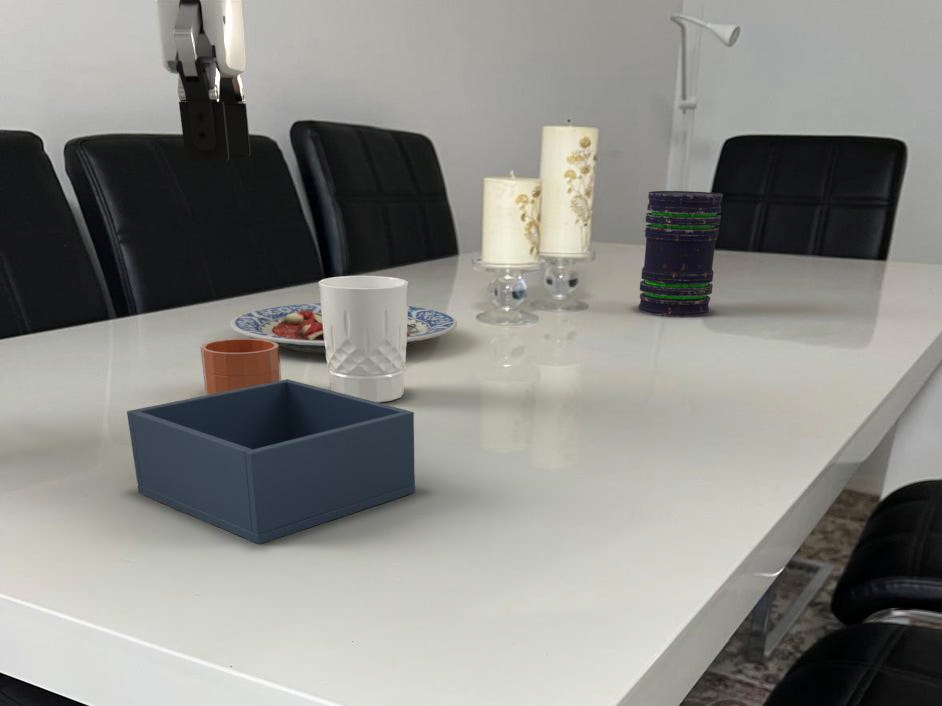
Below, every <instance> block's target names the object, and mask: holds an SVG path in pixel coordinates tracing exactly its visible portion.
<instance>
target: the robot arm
mask: <svg viewBox="0 0 942 706" xmlns="http://www.w3.org/2000/svg"><path fill="white" fill-rule="evenodd" d="M154 3H155V17H156V25H157V38H158V49H159V57H160V62H161V65H162V67H163V68H165V70H166V71H167V72H169V73H170V74H175V75H177V94H178V99H179V101H178V106H179V115H180V122H181V123H180V124H181V130H182V131H181V132H182V141H183V149H184V156H185V157H184V158H185V159H186V161H188V162H190V163H225V162H226V163H227V162H228V161H229V159H230V158H248V157H250V155H251V141H250V130H249V120H248V110H247V109H248V108H247V103H245V91H244V86H243V80H242V77H241V75H242V74H243V73H244V72H245V71H246V65H247V63H246V61H247V58H246V57H247V55H246V41H245V40H246V39H245V25H244V15H243V13H244V12H243V3H242V0H154Z"/></svg>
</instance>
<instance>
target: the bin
mask: <svg viewBox="0 0 942 706" xmlns="http://www.w3.org/2000/svg"><path fill="white" fill-rule="evenodd" d="M126 416H127V422H128V429H129V435H130V442H131V449H132V456H133V465H134V470H135V477H136V478H135V479H136V484H137V491H138V494H140V495H142V496H145V497H147V498H150V499H151V500H154V501H156V502H158V503H161V504H163V505H166V506H168V507H169V508H172V509H175V510H177V511H181V512H182V513H185V514H186V515H189V516H191V517H194V518H197V519H199V520H201V521H203V522H206V523H208V524H210V525H212V526H215V527H218V528H220V529H223V530H225V531H227V532H229V533H231V534H232V533H233V534H234V535H237V536H239V537H241V538H244V539H246V540H248V541H251V542H253V543H256V544H258V545H261V544H264V543H266V542H269V541H273V540H276V539H279V538H282V537H284V536H285V537H286V536H288V535H292V534H294V533H298V532H300V531H303V530H307V529H309V528H313V527H315V526H318V525H322V524H324V523H327V522H330V521H334V520H337V519H340V518H342V517H345V516H348V515H351V514H355V513H358V512H361V511H364V510H367V509H369V508H372V507H375V506H378V505H382V504H385V503H388V502H391V501H394V500H397V499H400V498H403V497H406V496H409V495H411V494H415V492H416V485H415V484H416V483H415V478H416V477H415V412H414V411H411V410H408V409H404V408H400V407H396V406H392V405H388V404H385V403H382V402H378V403H377V402H373V401H369V400H366V399H362V398H358V397H354V396H350V395H346V394H343V393H339V392H335V391H331V390H330V389H327V388H323V387H320V386H317V385H316V386H315V385H313V384H312V385H311V384H307V383H304V382H300V381H296V380H292V379H288V378H286V379H281V381H276V382H271V383H266V384H261V385H256V386H251V387H246V388H241V389H236V390H231V391H226V392H221V393H216V394H206V395H201V396H196V397H190V398H186V399H180V400H176V401H171V402H165V403H160V404H157V405H151V406H147V407H141V408H135V409H130V410H127V411H126Z"/></svg>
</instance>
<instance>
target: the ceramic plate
mask: <svg viewBox="0 0 942 706" xmlns="http://www.w3.org/2000/svg"><path fill="white" fill-rule="evenodd" d="M457 326H458V321H457V320H456V318H455V317H453V316H452V315H450V314H447V313H445V312H442V311H438V310H434V309H430V308H424V307H421V306H413V305H411V306H410V305H408V314H407V343H406V348H407V347H410V346H413V345H415V344H417V343H418V342H420V341H424V340H428V339H433V338H437V337H441V336H443V335H446V334H449V333H451V332H453V331H454V330H455V329H456V328H457ZM230 327H231V329H232V330H233V331H235V332H236V333H238V334H239V335H242V336H245V337H250V338H251V339H261V340H268V341H272V342H275V343H277V344H278V345H279V347H281V348H285V349H289V350H293V351H298V352H303V353H305V352H306V353H314V354H323V355H326V348H325V343H324V335H323V324H322V314H321V303H320V302H317V303H316V302H315V303H301V304H300V303H299V304H288V305H280V306H274V307H272V306H271V307H267V308H261V309H256V310H255V309H254V310H252V311H248V312H245V313H242V314H239V315H237V316H235V317H234V318H233V319H232V320H231V321H230Z"/></svg>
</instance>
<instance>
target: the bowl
mask: <svg viewBox="0 0 942 706" xmlns="http://www.w3.org/2000/svg"><path fill="white" fill-rule="evenodd" d="M200 356H201V357H200V358H201V364H202V375H203V383H204V384H203V385H204V391H205V392H206V393H207V395H211V394H216V393H221V392H226V391H231V390H236V389H241V388H246V387H251V386H256V385H261V384H266V383H271V382H276V381H281V380H282V371H281V370H282V369H281V356H280V346H279V345H278V344H277V343H275V342H272V341H268V340H261V339H256V338H228V339H227V338H225V339H219V340H213V341H209V342H206V343H203V344H202V345H201V346H200Z"/></svg>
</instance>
